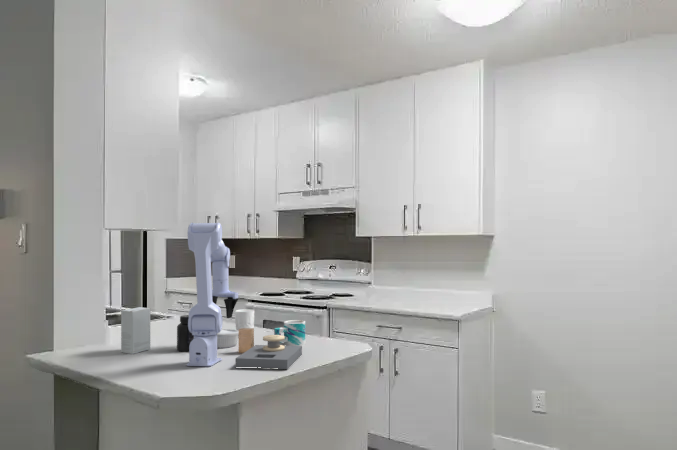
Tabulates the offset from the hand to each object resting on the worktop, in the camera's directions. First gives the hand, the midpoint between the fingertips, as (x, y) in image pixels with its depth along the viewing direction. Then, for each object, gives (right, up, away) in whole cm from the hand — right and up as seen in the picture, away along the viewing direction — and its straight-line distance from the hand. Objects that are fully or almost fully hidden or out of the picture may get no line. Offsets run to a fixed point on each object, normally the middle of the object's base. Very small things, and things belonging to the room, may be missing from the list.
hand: (221, 316), depth 189 cm
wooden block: (+11, -10, -11) cm, 19 cm away
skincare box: (-28, -11, -8) cm, 31 cm away
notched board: (+21, -10, -25) cm, 34 cm away
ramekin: (+1, -11, +1) cm, 11 cm away
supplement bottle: (-11, -11, -7) cm, 17 cm away
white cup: (+5, -12, +21) cm, 25 cm away
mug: (+25, -11, +1) cm, 27 cm away
